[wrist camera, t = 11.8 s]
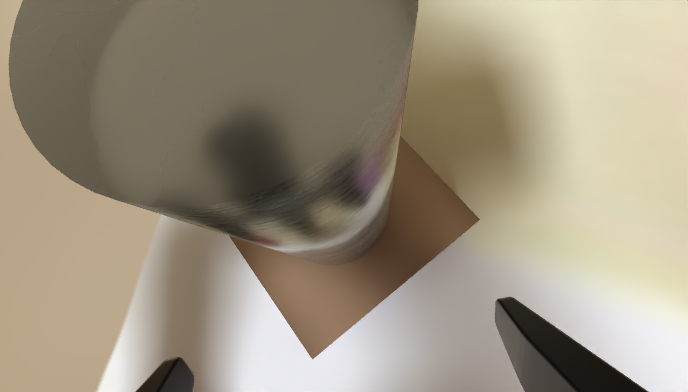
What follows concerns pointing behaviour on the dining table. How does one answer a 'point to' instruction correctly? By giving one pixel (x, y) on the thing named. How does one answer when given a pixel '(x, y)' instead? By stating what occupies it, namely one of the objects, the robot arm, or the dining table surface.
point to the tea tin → (224, 111)
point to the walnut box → (364, 258)
